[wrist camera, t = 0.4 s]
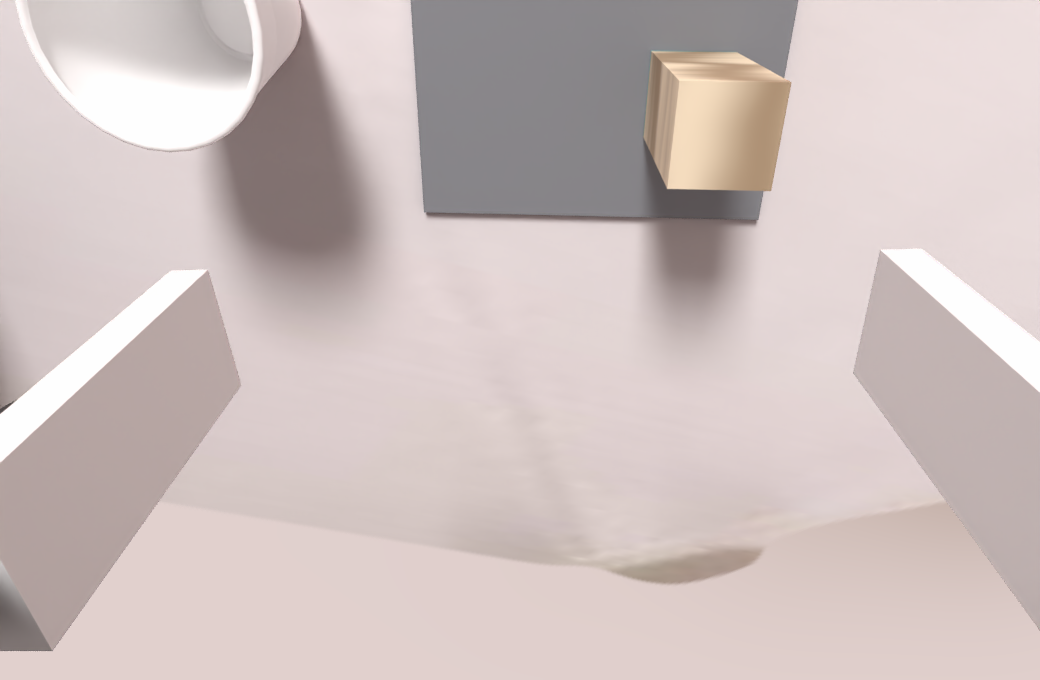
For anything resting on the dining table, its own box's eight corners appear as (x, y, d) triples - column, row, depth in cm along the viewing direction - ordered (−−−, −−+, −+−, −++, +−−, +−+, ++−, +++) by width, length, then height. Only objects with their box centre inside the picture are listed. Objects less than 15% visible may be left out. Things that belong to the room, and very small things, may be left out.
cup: (375, 39, 38) (313, 68, 28) (245, 138, 41) (148, 195, 31) (249, -146, 34) (126, -185, 24) (115, -21, 37) (-41, -13, 27)
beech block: (642, 136, 39) (667, 188, 30) (651, 50, 37) (679, 80, 28) (723, 137, 39) (770, 190, 30) (736, 51, 37) (791, 82, 28)
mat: (425, 210, 42) (424, 212, 42) (402, -149, 34) (401, -150, 33) (756, 217, 42) (758, 219, 41) (822, -148, 33) (825, -149, 32)
